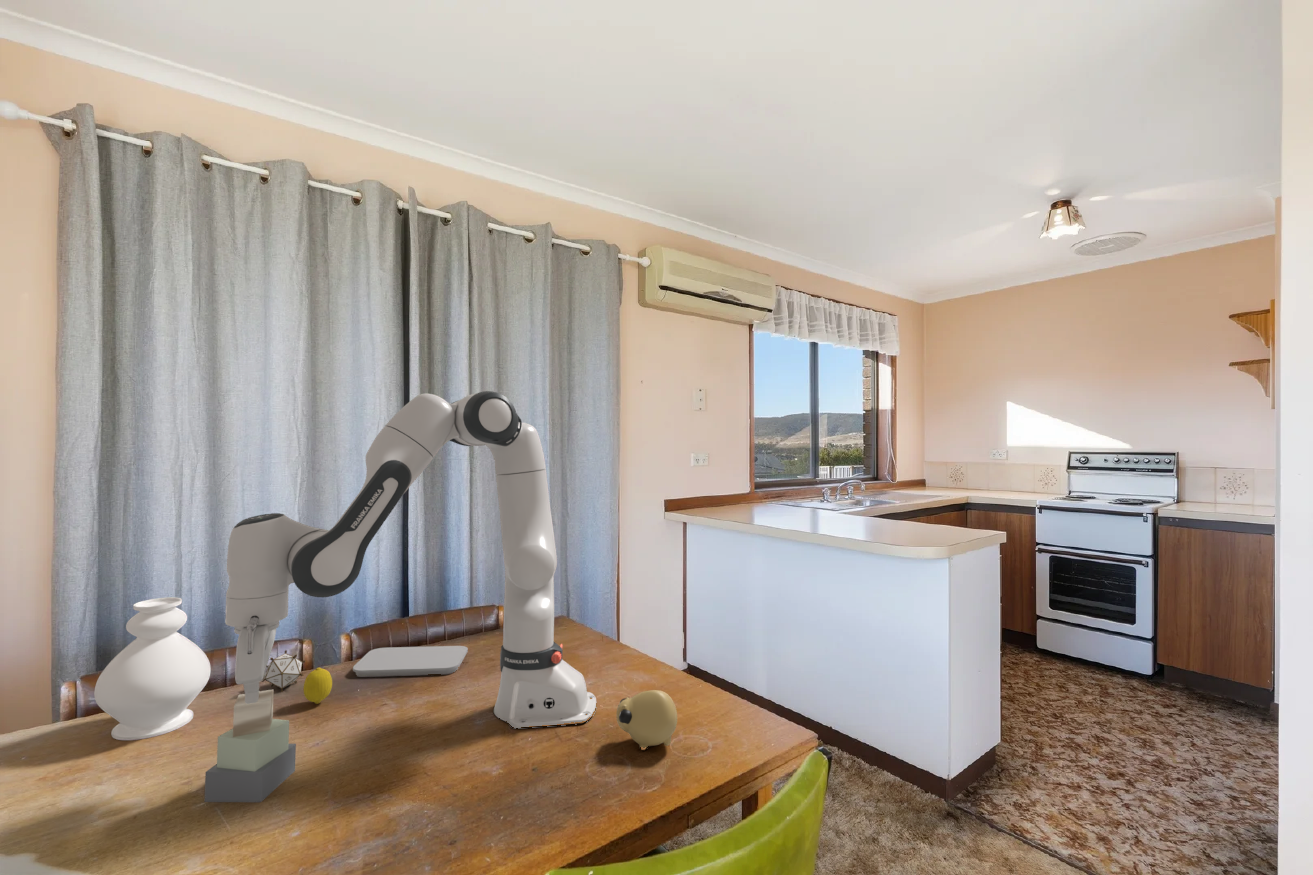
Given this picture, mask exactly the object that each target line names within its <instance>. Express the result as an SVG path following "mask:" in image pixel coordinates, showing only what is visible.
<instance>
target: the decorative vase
mask: <svg viewBox="0 0 1313 875" xmlns="http://www.w3.org/2000/svg"><path fill="white" fill-rule="evenodd" d="M182 602H183V599H182V598H181V597H177V596H176V597H175V596H174V597H173V596H172V597H159V598H158V597H157V598H150V599H147V600H142V601H138V602H135V603H134V604H133V606H132V607H133V608H132V609H133V610H134V611H136V612H137V613H136V614H134V615H133V616H132V617H130V618H129V620H128V621H127V622H126V624H125V629H126V631H127V632H128V633H129V634H130V635H132V636H134V637H136V638H135V639H134V640H132V641H131V642H130V643H129V644H128V645H126V646H125V647H124V648H123V649H122V650H121V651H120V652H118V653H117V655H116V656H114V658H112V659H111V661H110V662H109V663H108V664H107V665H106V667H105V668H104V669H103V670H102V672H101V673H100V675H98V676H99V677H98V678H97V681H96V684H95V687H94V694H93V695H94V696H93V697H94V700H95V702H96V705H97V706H98V707H99V708H100V709H101V710H102V711H104V713H106V714H107V715H109V716H110V717H112V718H113V719H115V720H116V721H117V722H119V723H118V724H117V725H115V726H114V727H113V728H112V729H111V738H113V739H114V740H115V739H116V740H119V741H137V740H145V739H149V738H154V737H158V736H161V735H165V734H167V733H170V732H173V731H175V730H176V731H177V729H180V728H182V727H184V726H185V725H187V724H188V723H190V722H191V721H192V720H193V718H194V711H193V710H192V709H189V708H188V706H190V704H191V703H192V702H193V701H194V700H195V699H196V698H197V697H198V695H199V694H200V693H201V692H202V690H203V689H204V688H205V686H206V685H207V684H208V681H209V679H210V677H211V670H212V669H211V663H210V660H209V657H207V654H206V653H205V652H204V651H203V649H201V648H200V647H199V645H197V644H196V643H195V642H193V641H192V640H190V639H188V637H186V636H184V635H183V634H181V633H179V632H178V631H179V630H180V629H181V628H182V627H183V626H184V625H185V624H186V623H187V620H188V615H187V613H186V612H185V611H183V610H182V609H180V608H178V607H177V606H180V605H182Z"/></svg>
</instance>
